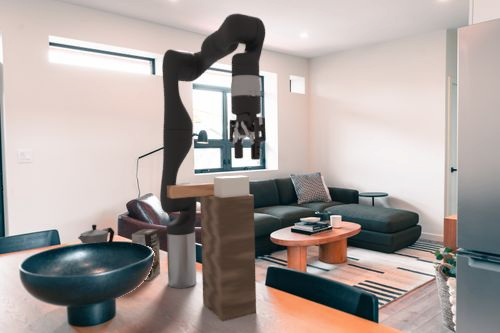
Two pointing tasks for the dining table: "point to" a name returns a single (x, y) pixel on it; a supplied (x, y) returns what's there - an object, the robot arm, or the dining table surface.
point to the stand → (228, 255)
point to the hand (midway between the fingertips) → (247, 159)
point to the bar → (190, 190)
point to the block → (231, 186)
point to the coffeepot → (97, 235)
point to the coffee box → (152, 240)
